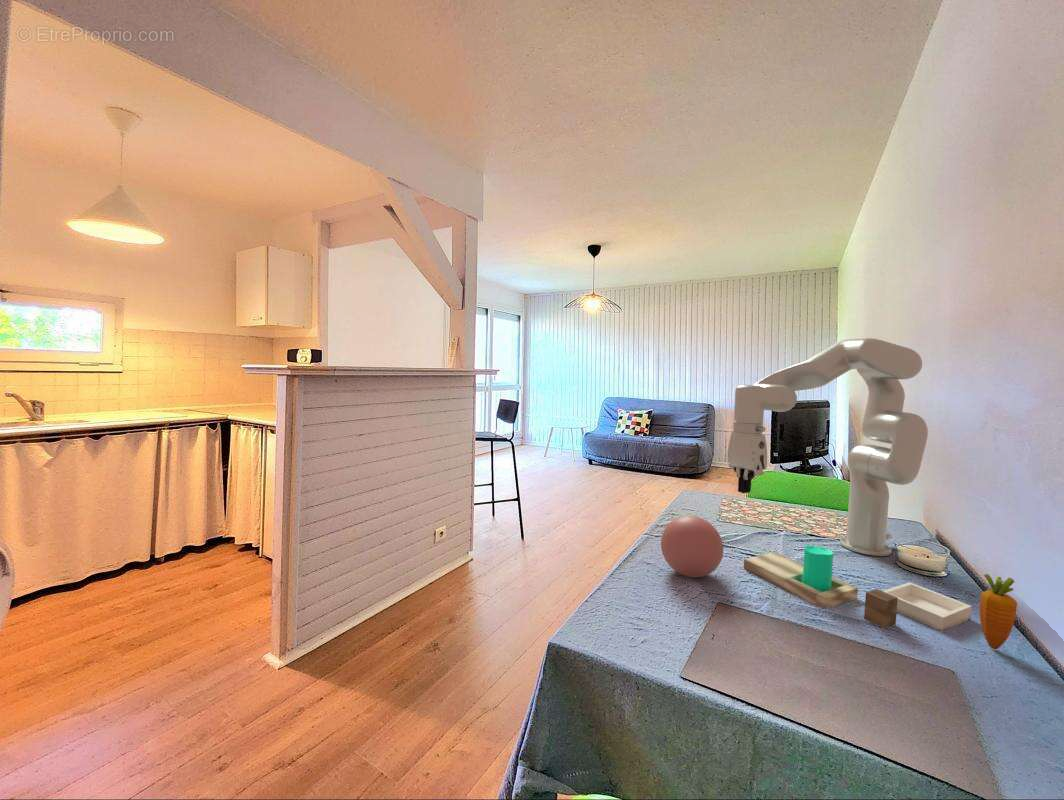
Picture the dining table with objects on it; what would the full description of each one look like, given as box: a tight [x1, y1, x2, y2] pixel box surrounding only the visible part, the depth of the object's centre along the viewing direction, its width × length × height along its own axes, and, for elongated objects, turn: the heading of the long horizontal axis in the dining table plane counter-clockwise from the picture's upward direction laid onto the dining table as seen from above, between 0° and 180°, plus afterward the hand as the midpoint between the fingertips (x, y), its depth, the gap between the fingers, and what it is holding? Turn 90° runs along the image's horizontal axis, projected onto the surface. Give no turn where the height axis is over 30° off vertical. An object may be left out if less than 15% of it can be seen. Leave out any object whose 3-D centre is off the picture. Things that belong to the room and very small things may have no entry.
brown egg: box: [660, 515, 724, 578], centre depth 118 cm, size 15×20×15 cm
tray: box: [882, 581, 973, 632], centre depth 101 cm, size 12×12×3 cm
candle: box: [802, 544, 834, 592], centre depth 109 cm, size 6×6×12 cm
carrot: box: [979, 573, 1018, 650], centre depth 87 cm, size 5×5×15 cm
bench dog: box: [863, 588, 898, 629], centre depth 96 cm, size 4×4×6 cm
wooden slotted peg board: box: [743, 551, 859, 610], centre depth 114 cm, size 12×22×2 cm, turn 24°
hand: (744, 491), depth 128 cm, fingers closed
